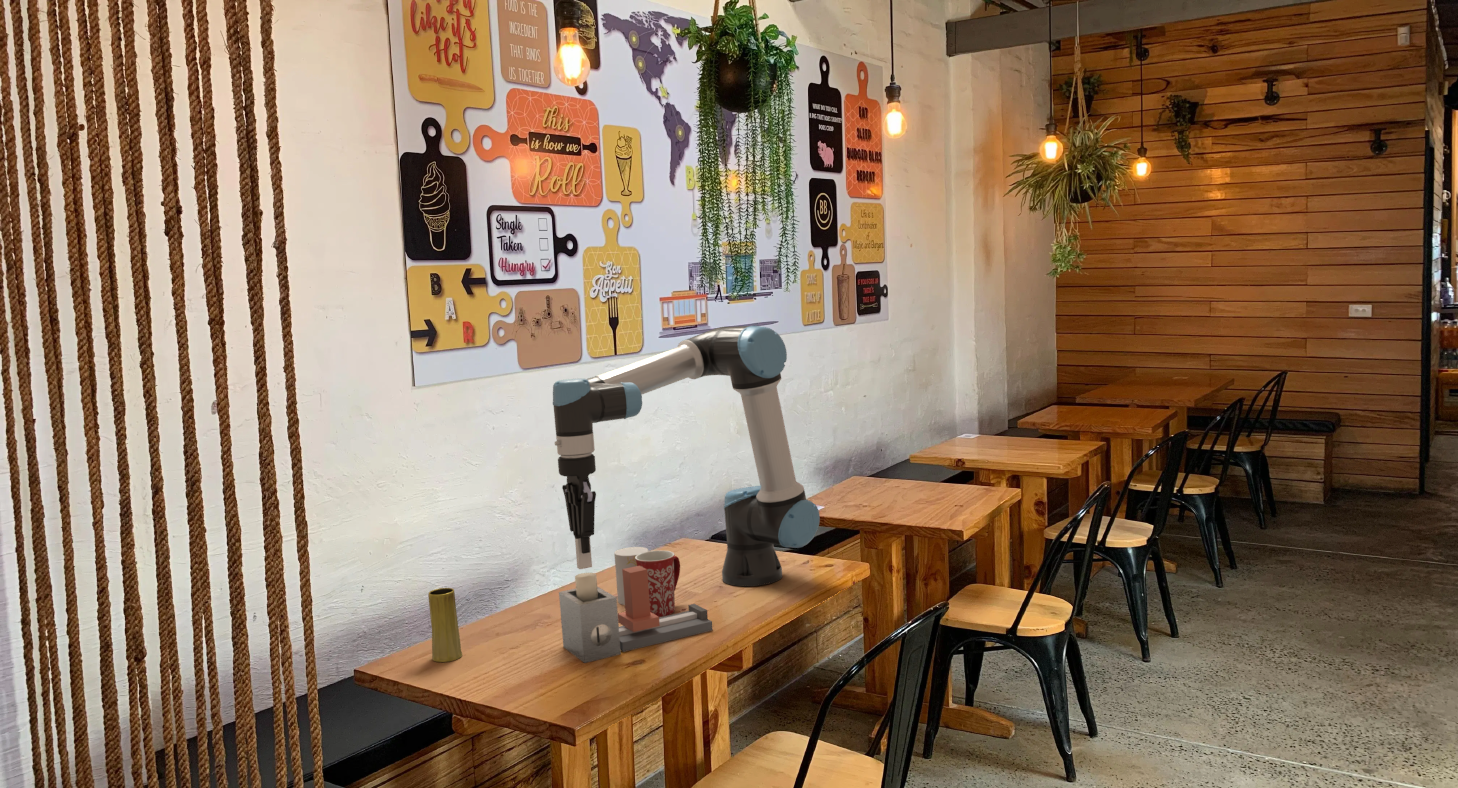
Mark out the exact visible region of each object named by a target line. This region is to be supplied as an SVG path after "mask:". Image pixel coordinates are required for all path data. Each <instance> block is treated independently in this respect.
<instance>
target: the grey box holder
mask: <svg viewBox="0 0 1458 788" xmlns="http://www.w3.org/2000/svg"><path fill="white" fill-rule="evenodd" d="M597 589H598V599H597V600H592V601H587V602H582V601H581V600H579V599H578V598H577V595H576V588H571V589H567V590H562V591H559V592H558V597H559V608H560V620H561V621H560V623H561V634H562V636H561V637H562V645H563V646H562V647H563V648H564V649H565V650H566V651H568V652H569V653H571V654H572V655H573V656H574V657H576V658H577V659H578V660H579V661H581V662H582V663H584V664H587V663H590V662H595V661H598V660H604V659H609V658H611V657H617V656H619V655H621V654H622V653H621V650H620V637H619V627H620V625H619V624H620V623H618V612H619V611H618V597H617V596H614V595H613V594H612V593H609V592H608V591H606V590H604V589H603V588H601V587H599V586H597Z"/></svg>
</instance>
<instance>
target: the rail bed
mask: <svg viewBox="0 0 1458 788" xmlns="http://www.w3.org/2000/svg"><path fill="white" fill-rule="evenodd" d="M708 617H709V616H708V610H707V609H706V608H704V607H702V606H700V605H697V604H696V603H691V604H688V610H687V611H682V612H679V613H678V612H677V613H672V614H670V615H667V616H662V617H659V625H660V626H657V627H653V628H649V629H644V630H640V631H636V632H633V631H631V630H630V629H628V628H626V627H625V626H623V625H619V637H620V650H621V651H622V653H624V652H629V651H632V650H637V649H641V648H646V647H649V646H652V645H653V646H654V645H656V644H657V645H658V644H661V643H666V642H669V641H670V642H671V641H674V640H678V639H682V638H687V637H691V636H694V635H695V636H696V635H699V634H703V633H707V632H708V633H709V632H711V631H713V621H712V620H711V619H708Z"/></svg>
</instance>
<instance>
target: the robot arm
mask: <svg viewBox="0 0 1458 788" xmlns="http://www.w3.org/2000/svg"><path fill="white" fill-rule="evenodd" d="M787 353H788V352H787V347H786V345H785V341H784V340H783V338H782V337H781V335H780V334H779V333H778V332H777V331H775V330H773V329H772V328H770V327H767V326H759V325H743V326H742V325H741V326H722V327H717V328H713V329H710V330H708V331H705V332H702V333H700V334H697V335H694V336H692V337H690V338H687V339H684V340H682V341H680V342H679V343H678V345H677V347H673V348H672V349H668V350H666V351H662V352H661V353H658V354H654V355H651V356H648V357H646V358H642V359H640V360H637V361H634V362H632V363H628V364H626V365H622V366H620V367H616V368H615V369H612V370H609V371H605V372H603V373H600V374H597V375H595V376H592V377H588V378H566V379H561V380H560V379H559V380H557V381H555V382H554V383H553V385H552V406H553V413H554V414H553V415H554V417H553V418H554V427H555V438H556V441H554V446H556V449H557V455H558V456H559V457H558V458H557V466H558V474H559V475H560V476H562V477H566V484H563V485H562V487H561V489H562V492H563V495H564V500H565V506H566V511H567V513H566V514H567V519H568V525H569V530H570V532H571V533H572V534H573V536H574V543H575V555H576V557H575V558H576V568H577V569H578V570H583V569H585V570H586V569H589V568H593V561H592V548H591V547H592V546H591V536H594V535H595V516H596V515H595V511H596V510H595V509H596V508H595V505H596V497H597V492H596V491H595V490H593V491H592V485H591V482H590V478H589V475H592V474H594V473H595V472H596V467H597V466H596V455H594V454H593V453H594V451H595V439H594V438H595V437H594V430H593V424H595V423H596V424H597V423H601V422H607V421H614V420H615V421H616V420H627V419H628V418H633V417H636V416H637V415H639V414H640V412H641V410H642V407H643V397H642V396H643V395H644V394H647V393H650V392H653V391H655V390H657V389H661V388H663V387H666V386H669V385H671V384H674V383H677V382H679V381H682V380H685V379H687V378H688V379H691V380H697V379H700V378H703V377H709V376H729V378H730V382H731V385H732V386H731V387H732V389H733V391H736V392H737V393H738V394H740V397H741V401H742V407H743V411H744V415H745V416H744V417H745V420H746V425H747V431H748V435H749V440H750V443H751V447H752V453H753V458H754V462H755V467H756V470H757V476H758V480H759V485H753V486H752V485H751V486H744V487H740V488H735V489H731V490H729V491H727V492H726V493H725V495H724V503H723V504H724V505H723V510H724V521H725V522H724V523H725V532H726V533H725V535H726V547H727V548H726V549H727V550H726V552H725V553H726V555H725V557H724V561H723V565H722V569H721V578H722V579H721V580H722V581H723V583H725V584H727V585H731V586H737V587H753V586H754V587H756V586H764V585H770V584H773V583H776V582H778V581H780V580H781V579H782V578H783V570H782V569H783V568H782V565H781V563H780V560H779V557H778V554H777V552H776V550H775V546H774V545H778V546H781V547H784V548H794V549H796V548H797V549H799V548H803V547H804V546H806V545H808V544H809V543H810V542H811V541H812V540H813V539H814V538H815V536H816V533H817V531H818V529H819V525H820V520H821V519H820V517H821V516H820V511H819V508H818V506H817V505H816V504H815V503H814V502H813V501H811V500H809V499H807V497H806V491H805V487H804V485H803V484H801V483H799V482H798V481H797V480H796V479H797V478H796V474H795V470H794V465H793V460H792V455H791V450H790V447H789V446H790V445H789V441H788V435H787V431H786V427H785V421H784V416H783V411H782V406H781V401H780V398H779V392H778V385H779V383H780V382H781V381H782V375H781V373H782V372H783V371H784V368H785V366H786V365H785V363H786V362H787V361H788V360H787V358H788V356H787V355H788V354H787Z"/></svg>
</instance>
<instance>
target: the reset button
mask: <svg viewBox="0 0 1458 788" xmlns="http://www.w3.org/2000/svg"><path fill="white" fill-rule="evenodd" d="M574 581H575V589H576V595H577V598H578V599H579V600H581V601H582V602H587V601H592V600H597V599H598V589H597V587H598V578H597V573H595V572H582V573H578V574H575V575H574Z"/></svg>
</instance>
